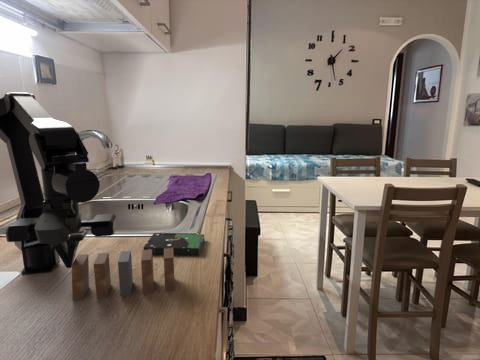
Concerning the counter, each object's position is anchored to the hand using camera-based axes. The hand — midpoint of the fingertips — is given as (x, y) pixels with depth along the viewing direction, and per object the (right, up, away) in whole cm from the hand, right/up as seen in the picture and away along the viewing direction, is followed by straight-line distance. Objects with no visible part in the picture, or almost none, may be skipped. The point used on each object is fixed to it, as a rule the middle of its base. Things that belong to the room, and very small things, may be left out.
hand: (69, 267), depth 67 cm
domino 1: (+2, -6, +2) cm, 6 cm away
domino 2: (+6, -6, +3) cm, 9 cm away
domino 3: (+10, -6, +4) cm, 12 cm away
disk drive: (+17, -2, +25) cm, 30 cm away
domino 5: (+19, -5, +5) cm, 21 cm away
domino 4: (+15, -5, +5) cm, 16 cm away
